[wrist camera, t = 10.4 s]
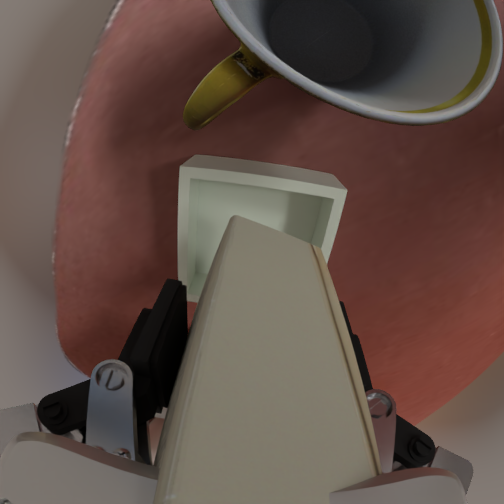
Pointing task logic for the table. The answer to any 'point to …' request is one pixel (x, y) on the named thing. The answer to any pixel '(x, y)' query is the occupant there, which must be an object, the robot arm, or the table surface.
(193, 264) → the holder
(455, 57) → the ceramic cup
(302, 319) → the skincare box
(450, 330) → the table surface
